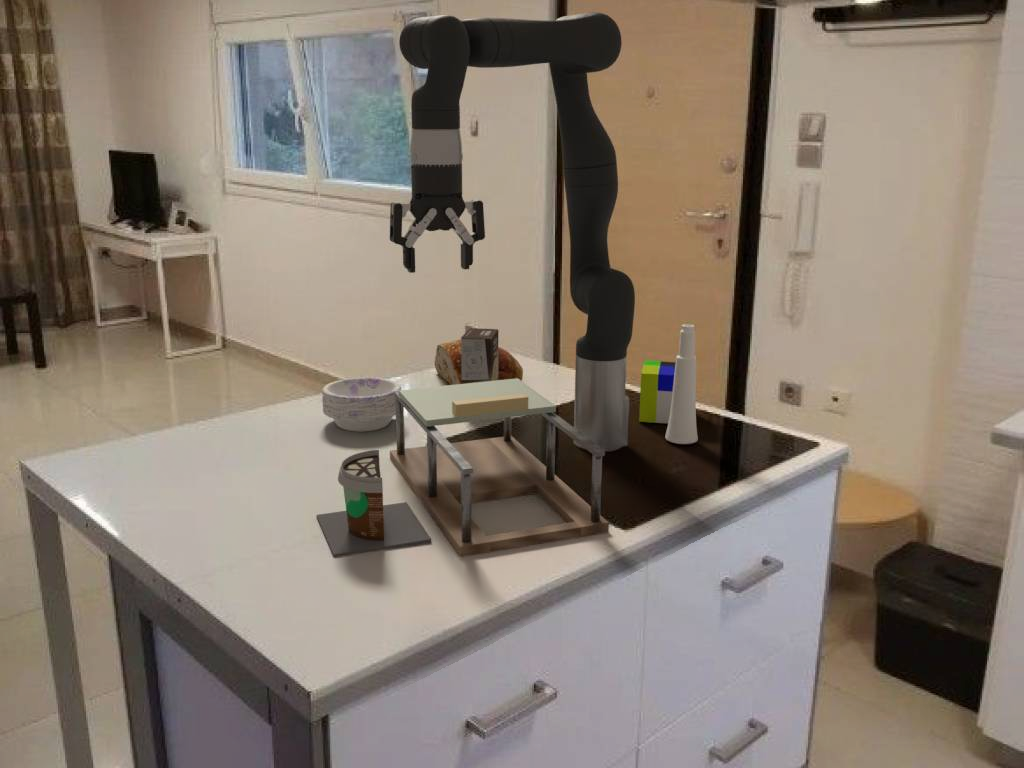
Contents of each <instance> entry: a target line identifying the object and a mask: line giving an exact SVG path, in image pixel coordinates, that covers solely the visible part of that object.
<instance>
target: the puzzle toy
mask: <svg viewBox="0 0 1024 768" xmlns="http://www.w3.org/2000/svg"><path fill="white" fill-rule="evenodd" d="M675 364H676V361H662V360H661V361H659V360H658V361H657V360H644V362H643V366H642V369H641V373H640V393H639V412H638V413H639V416H638V422H640V423H652V424H653V423H654V424H667V425H668V423H669V417H670V410H671V402H672V393H673V383H674V373H675Z"/></svg>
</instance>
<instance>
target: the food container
mask: <svg viewBox="0 0 1024 768" xmlns="http://www.w3.org/2000/svg"><path fill="white" fill-rule="evenodd" d="M380 467H381V466H380V450H379V449H373V450H366V451H362V452H357V453H354V454H352V455H350V456H348V457H346V458H345V459H343V461H342V462H341V465H340V467H339V471H338V476H337V481H338V483H339V484H340V485H341V486H342V487H343V494H344V495H343V496H344V504H345V509H346V510H345V511H346V512H347V520H348V528H349V532H350V533H351V534H352V535H353V536H355V537H357V538H360V539H364V540H372V541H384V518H383V505H384V489H383V488H384V487H383V486H384V485H383V477H381V469H380Z"/></svg>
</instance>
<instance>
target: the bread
mask: <svg viewBox="0 0 1024 768" xmlns="http://www.w3.org/2000/svg"><path fill="white" fill-rule="evenodd" d="M434 368H435V370H436V373H437V375H439V376H440V377H441V378H442V379H443V380H444V381H445V382H446V383H448V385H457V384H461V339H456V340H453V341H449V342H442V343H440V344H438V345H437V346H436V350H435V357H434ZM523 375H524V369H523V367H522V365H521V364H520V362H519V361H518V359H516V358H515V356H514V355H512V354H511V353H510V352H509V351H507V350H506V349H504V348H503V347H500V346H498V380H506V379H516V378H518V379H519V380H521V381H522V380H523Z"/></svg>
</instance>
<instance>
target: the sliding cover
mask: <svg viewBox="0 0 1024 768" xmlns="http://www.w3.org/2000/svg"><path fill="white" fill-rule="evenodd" d="M399 397H400V398H401V399H402V400H403V401H404V402H405V403H406V405H407V406H408V407H409V408H410V409H411V410H412V411H413V412H414V414H415V415H416V416H417V417H418V418H419V419H420V420H421V421H422V423H423V424H424V425H425V426H426V427H429V426H435V427H436V426H444V425H453V424H462V423H470V422H478V421H479V422H480V421H487V420H496V419H504V418H507V417H511V418H513V417H515V418H516V417H522V416H524V417H525V416H531V415H541V414H542V413H550V412H554V413H557V406H556V405H555V403H553V402H552V401H550V400H548V398H546V397H544V396H543V395H542V394H541V393H539V392H538V391H536V390H535V389H534V388H532V387H531V386H529V385H527V384H526V383H525V382H524V381H522V380H519V379H518V378H516V379H506V380H496V381H486V382H477V383H467V384H457V385H450V384H448V385H437V386H428V387H427V386H426V387H420V388H418V387H417V388H409V389H401V390H399Z"/></svg>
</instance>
